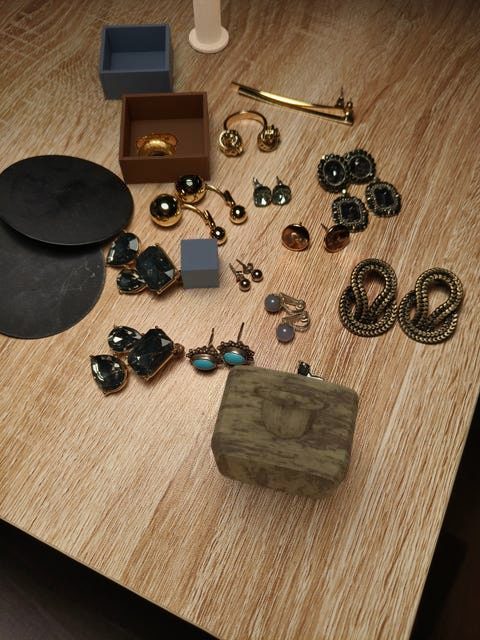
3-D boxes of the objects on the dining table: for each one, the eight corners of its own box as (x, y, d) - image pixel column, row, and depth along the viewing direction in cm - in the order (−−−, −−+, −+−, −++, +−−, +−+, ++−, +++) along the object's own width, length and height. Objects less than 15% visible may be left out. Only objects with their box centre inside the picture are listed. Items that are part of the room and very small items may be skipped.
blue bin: (105, 99, 100) (98, 73, 95) (109, 53, 105) (102, 25, 100) (172, 97, 100) (168, 70, 95) (172, 50, 105) (169, 23, 100)
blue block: (184, 289, 84) (180, 270, 79) (183, 258, 86) (180, 239, 82) (219, 287, 84) (218, 269, 79) (218, 257, 86) (217, 237, 82)
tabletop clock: (341, 437, 74) (383, 361, 52) (330, 510, 71) (369, 463, 48) (229, 412, 76) (222, 328, 53) (211, 482, 72) (196, 424, 50)
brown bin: (124, 184, 92) (118, 160, 87) (128, 120, 98) (122, 94, 93) (210, 181, 92) (208, 156, 87) (208, 117, 98) (206, 91, 93)
